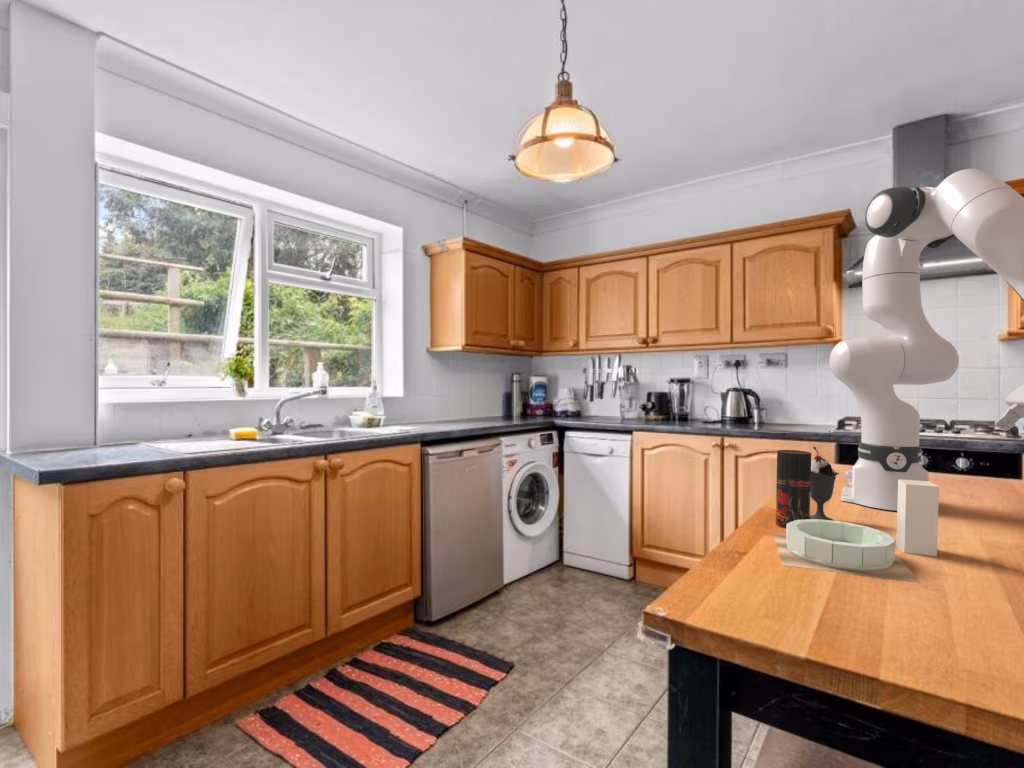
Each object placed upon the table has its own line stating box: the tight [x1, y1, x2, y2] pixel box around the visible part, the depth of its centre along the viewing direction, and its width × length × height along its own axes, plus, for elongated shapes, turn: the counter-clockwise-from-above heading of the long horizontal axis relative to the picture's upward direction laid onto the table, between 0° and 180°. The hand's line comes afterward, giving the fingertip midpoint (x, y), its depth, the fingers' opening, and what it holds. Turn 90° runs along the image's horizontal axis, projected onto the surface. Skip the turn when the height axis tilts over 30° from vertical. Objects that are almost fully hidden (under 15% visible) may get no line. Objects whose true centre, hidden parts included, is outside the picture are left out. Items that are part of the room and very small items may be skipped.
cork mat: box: [772, 532, 922, 584], centre depth 89 cm, size 18×18×1 cm
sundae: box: [810, 446, 840, 521], centre depth 112 cm, size 7×7×15 cm
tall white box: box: [895, 479, 940, 557], centre depth 92 cm, size 4×4×12 cm
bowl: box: [785, 519, 896, 571], centre depth 89 cm, size 15×15×4 cm
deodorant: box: [775, 449, 812, 530], centre depth 106 cm, size 6×6×15 cm
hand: (1013, 430), depth 87 cm, fingers open, 8 cm apart
